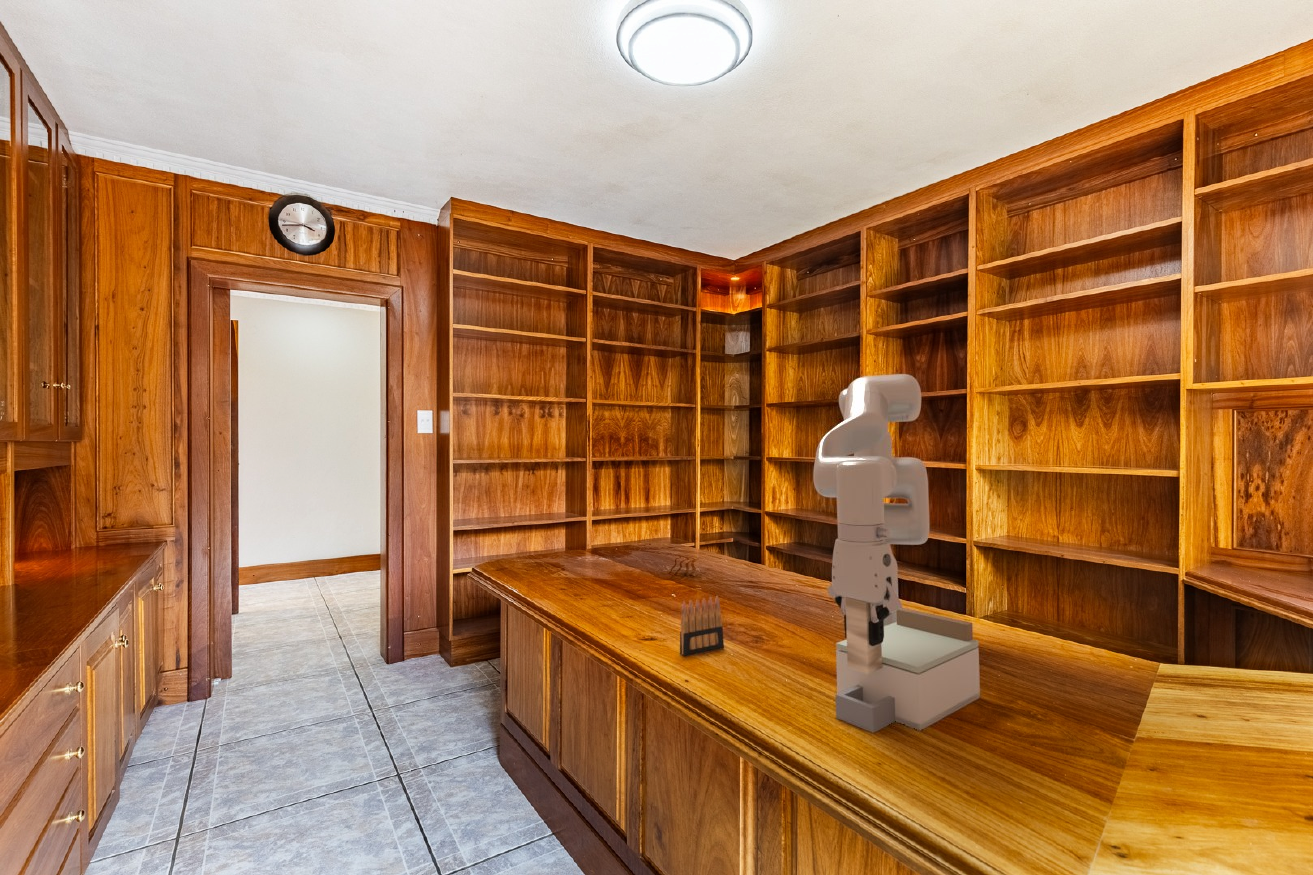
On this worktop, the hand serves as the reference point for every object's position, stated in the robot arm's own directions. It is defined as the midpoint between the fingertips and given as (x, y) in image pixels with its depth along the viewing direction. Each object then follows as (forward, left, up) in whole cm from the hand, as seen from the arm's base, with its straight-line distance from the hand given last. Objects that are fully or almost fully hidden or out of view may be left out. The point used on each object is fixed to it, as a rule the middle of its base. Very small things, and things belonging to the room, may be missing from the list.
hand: (864, 639), depth 107 cm
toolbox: (-9, 0, -13) cm, 16 cm away
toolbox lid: (-13, 0, -4) cm, 13 cm away
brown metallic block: (0, 0, -5) cm, 5 cm away
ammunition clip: (-2, -44, -14) cm, 46 cm away
